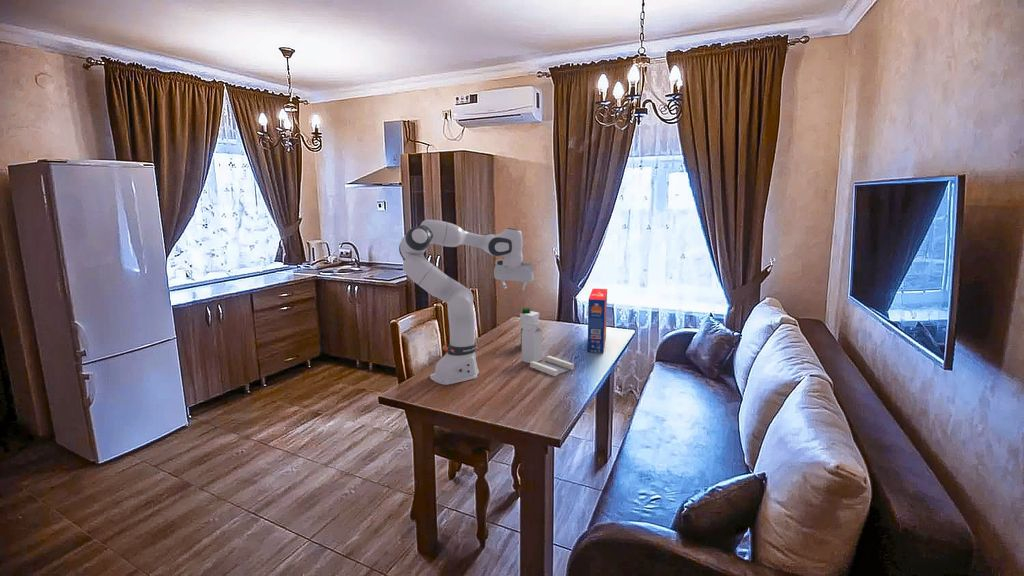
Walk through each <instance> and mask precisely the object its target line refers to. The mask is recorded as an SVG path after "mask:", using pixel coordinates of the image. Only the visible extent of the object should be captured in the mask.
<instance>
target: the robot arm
mask: <svg viewBox="0 0 1024 576" xmlns="http://www.w3.org/2000/svg"><path fill="white" fill-rule="evenodd" d="M522 233H523V232H522V231H521V230H520V229H517V228H513V227H506V228H505V230H503V231H502V232H500V233H498V234H495V233H485V234H479V233H478V234H477V233H473V232H470V231H466V230H464V229H463V228H462V227H460V226H459V225H457V224H454V223H452V222H447V221H443V220H437V219H425V220H423V221H422V222H421V223H420V225H418V226H414V227H411V228H409V230H407V232H406V234H405V235H404V236H403V237H402V239H401V242H400V244H399V247H398V251H399V255H400V257H401V258H402V260H403V263H402V271H403V272H404V273H405V274H406V275H407V277H408V278H410V280H411V281H413V282H414V283H415V284H416V285H418V286H419V287H420V288H421V289H423V290H424V291H425V292H427V293H428V294H430V295H431V296H432V297H434V298H437V299H439V300H440V301H443V302H444V303H446V305H447V317H448V318H447V319H448V326H449V344H448V346H447V345H443V346H442V350H443V351H446V353H445V354H444V355H443V357H441V359H439V361H438V362H436V364H435V368H434V372H433V373H431V374H430V375H429V379H430V380H432V381H433V382H435V383H437V384H440V385H445V386H448V385H454V384H456V383H457V384H458V383H462V382H466V381H471V380H475V379H477V378H478V374H479V373H480V370H479V368H478V364H477V358H476V351H477V348H476V347H477V346H476V342H475V322H474V294H473V292H472V291H471V289H469V288H468V287H466V286H465V285H463V284H462V283H460V282H458V280H455V279H454V278H452V277H450V276H449V275H447V274H446V273H444V271H442V270H441V269H439V268H438V267H437V266H436V265H434V264H433V263H432V262H430V260H428V259H427V258H426V257H425V254H424V253H425V252H426V251H427V249H428V247H429V245H436V246H437V245H438V246H442V247H448V248H457V247H458V246H460V245H462V246H463V245H464V246H470V247H473V248H474V247H475V248H478V249H480V250H481V251H483V252H484V253H486V254H489V255H491V256H493V257H502V256H504V258H500V259H498V260H495V261H494V262H495V266H494V269H493V277H494V279H495V280H500V283H501V285H502V289H503V290H507V289H508V284H506V283H505V282H506V281H510V282H511V281H513V282H522V284H523V285H521V286H520V291H525V289H526V286H527V284H528V283H531V282H533V281H534V279H535V276H534V270H535V269H534V265H533V264H532V263H531V262H523V261H524V256H523V247H524V246H523V245H524V244H523V243H524V241H523V234H522Z"/></svg>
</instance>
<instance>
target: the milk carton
mask: <svg viewBox="0 0 1024 576" xmlns="http://www.w3.org/2000/svg"><path fill="white" fill-rule="evenodd" d="M542 332H543V330H542V329H541V328H540V327H539V323H538V324H533V323H527V322H525V326H524V328H523V330H522V346H521V362H524V363H529V364H530V362H531V361H535V362H537V363H539V362H540V361H542V360H543V359H542V354H543V351H542V349H543V345H542V344H543V343H542V341H543V339H542V337H543V333H542Z"/></svg>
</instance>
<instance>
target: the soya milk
mask: <svg viewBox="0 0 1024 576" xmlns="http://www.w3.org/2000/svg"><path fill="white" fill-rule="evenodd" d="M519 318H520V347H522V330H523V328H524V326H525V322H527V323H533V324H538V325H539V319H540V312H536V311H531V308H529V307H522V312H520V313H519Z"/></svg>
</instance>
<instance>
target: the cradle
mask: <svg viewBox="0 0 1024 576" xmlns="http://www.w3.org/2000/svg"><path fill="white" fill-rule="evenodd" d="M529 367H530V368H531V367H532V368H531V369H534V368H535V370H537V371H540V372H542V373H545V374H548V375H551V376H553V377H556V376H559V375H562V374H564V373H567V372H570V371H572V370H574V369H575V363H572V362H571V361H570V362H569V361H567V360H564V359H561V358H558V357H556V356H555V357H554V356H551V355H547V356H546V357H545V360H544V361H541V362H535V361H531V362H530V363H529Z"/></svg>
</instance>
